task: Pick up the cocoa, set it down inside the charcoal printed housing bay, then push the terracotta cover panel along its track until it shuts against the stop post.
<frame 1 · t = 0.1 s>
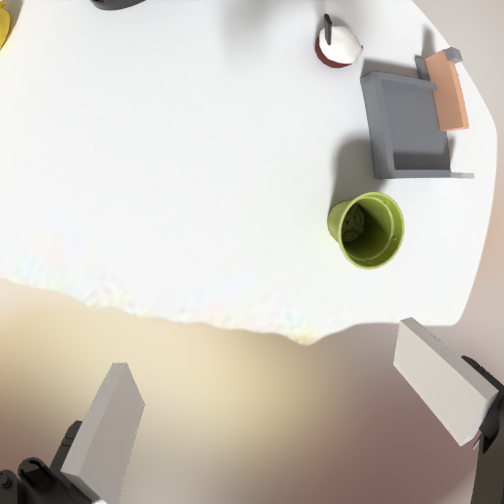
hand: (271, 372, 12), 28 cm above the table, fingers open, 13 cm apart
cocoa: (328, 55, 33), on the table
cover: (450, 89, 30), point 5 cm above the table, slide at 7.0 cm
housing: (402, 128, 37), on the table
plant pot: (345, 221, 40), on the table
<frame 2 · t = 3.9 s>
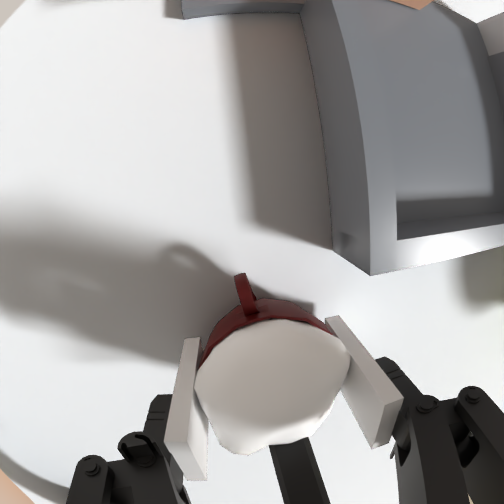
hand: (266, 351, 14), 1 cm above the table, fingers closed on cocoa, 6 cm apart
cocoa: (260, 340, 15), on the table, touching gripper
housing: (440, 127, 12), on the table
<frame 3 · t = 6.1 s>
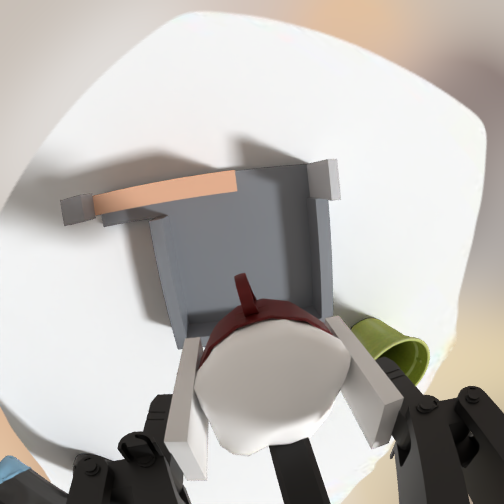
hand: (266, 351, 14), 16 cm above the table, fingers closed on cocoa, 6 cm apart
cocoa: (260, 340, 15), point 15 cm above the table, touching gripper
cover: (152, 193, 22), point 5 cm above the table, slide at 7.0 cm
housing: (245, 266, 29), on the table
plant pot: (363, 337, 33), on the table
when the fingers open (4 cm above the table, at t = 8.6 s): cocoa drops 2 cm, resting on housing.
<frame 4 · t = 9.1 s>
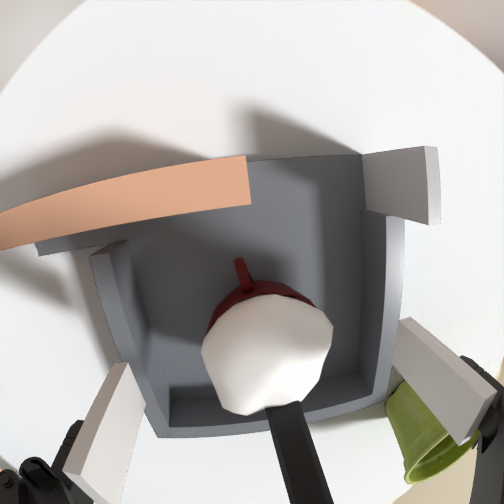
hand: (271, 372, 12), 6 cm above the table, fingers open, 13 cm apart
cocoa: (258, 319, 17), point 1 cm above the table, touching housing
cover: (85, 208, 10), point 5 cm above the table, slide at 7.0 cm
housing: (257, 320, 18), on the table
plant pot: (408, 393, 22), on the table
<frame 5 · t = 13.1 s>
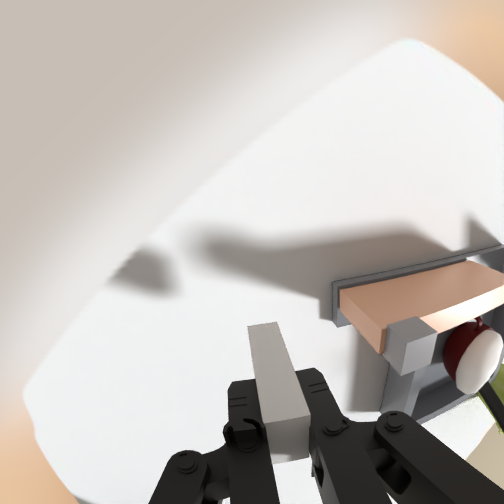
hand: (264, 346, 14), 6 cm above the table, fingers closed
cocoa: (453, 343, 22), point 1 cm above the table, touching housing
cover: (447, 300, 15), point 5 cm above the table, slide at 7.0 cm
housing: (448, 343, 23), on the table
plant pot: (488, 379, 27), on the table
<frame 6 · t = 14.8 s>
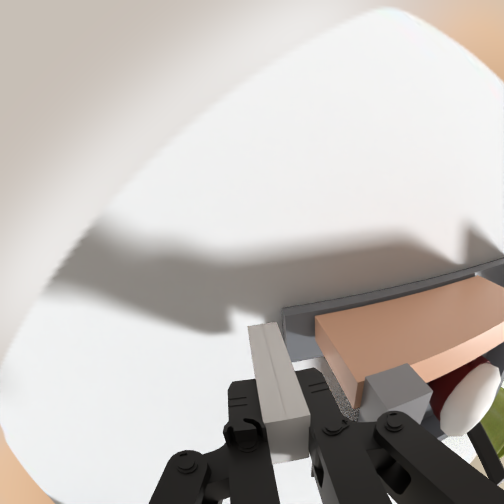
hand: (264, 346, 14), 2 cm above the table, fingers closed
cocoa: (442, 373, 18), point 1 cm above the table, touching housing
cover: (450, 332, 12), point 5 cm above the table, slide at 5.4 cm, touching gripper
housing: (436, 373, 19), on the table
plant pot: (483, 402, 23), on the table
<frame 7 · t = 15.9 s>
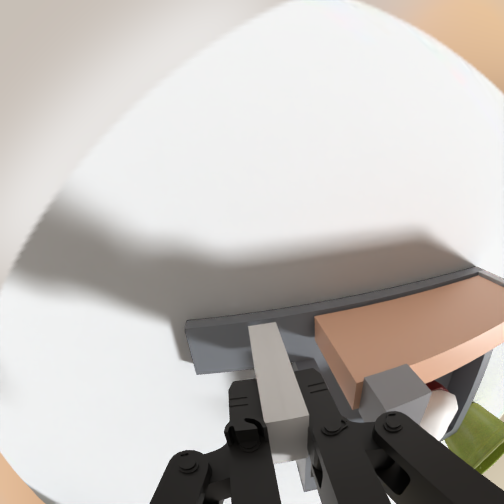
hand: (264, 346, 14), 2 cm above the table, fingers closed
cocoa: (392, 394, 18), point 1 cm above the table, touching housing
cover: (450, 333, 12), point 5 cm above the table, slide at -0.1 cm, touching gripper
housing: (387, 393, 19), on the table
plant pot: (458, 419, 23), on the table
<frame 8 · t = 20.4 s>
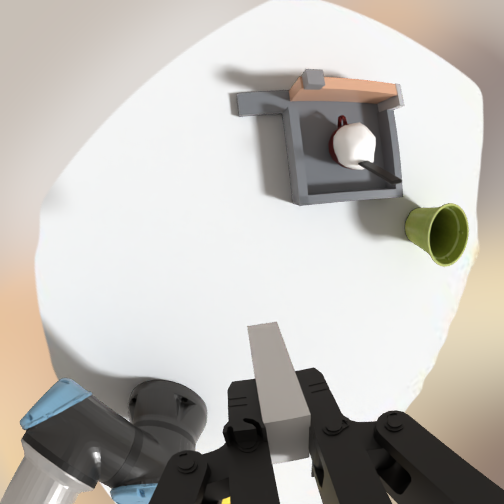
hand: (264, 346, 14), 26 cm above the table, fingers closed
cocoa: (342, 151, 37), point 1 cm above the table, touching housing
cover: (346, 88, 31), point 5 cm above the table, slide at 0.0 cm
housing: (340, 154, 38), on the table
plant pot: (416, 225, 42), on the table
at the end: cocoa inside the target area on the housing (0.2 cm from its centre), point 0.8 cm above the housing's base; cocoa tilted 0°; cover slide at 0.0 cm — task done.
